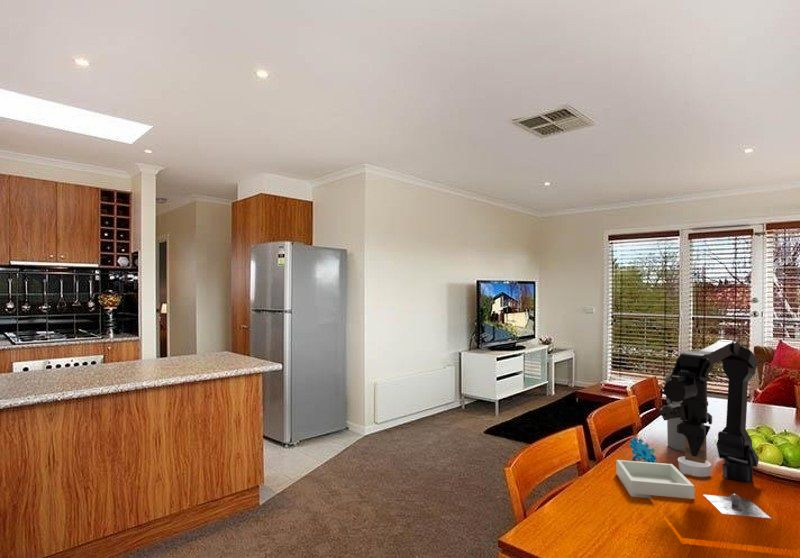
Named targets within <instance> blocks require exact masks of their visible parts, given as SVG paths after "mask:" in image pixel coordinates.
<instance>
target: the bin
mask: <svg viewBox="0 0 800 558" xmlns="http://www.w3.org/2000/svg"><path fill="white" fill-rule="evenodd" d="M616 475H617V477H618V479H619V480H620V482H621V484H622V485H623V486H624V488H625V490H627V492H628V494H629V496H630V497H631V498H639V499H640V498H643V499H652V500H654V498H653V496H654V497H655V496H657V497H669V498H679V499H680V498H681V499H688V500H689V499H690V500H695V485H694V484H693V483H692V482H691V481H690V480H689V479H688V478H687V477H686V476H685V474H682V473H681V472H680V471H679V468H677V467H676V466H675V465H674V464H673V463H663V462H662V463H661V462H657V463H652V462H648V461H647V462H643V461H639V460H624V459H623V460H622V459H616Z"/></svg>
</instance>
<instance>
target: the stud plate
mask: <svg viewBox="0 0 800 558" xmlns="http://www.w3.org/2000/svg"><path fill="white" fill-rule="evenodd" d="M703 496H704V497H705V499H707V501H709V503H711V504H712V505H713V506H714V507H715V508H716V509H717V510H718V511H719V512H720V513H721V515H732V516H741V517H751V518H761V519H763V518H764V519H771V516H769V515H768V514H767V513H766V512H764V510H762V508H760V507H759V506H758V505H756V504H755V503H754V502H753V501H751V499H749V498H745V497H741V496H739V494H736V493H731V494H730V495H729V496H724V495H723V496H722V495H713V494H712V495H711V494H703Z"/></svg>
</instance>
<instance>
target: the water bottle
mask: <svg viewBox="0 0 800 558" xmlns="http://www.w3.org/2000/svg"><path fill="white" fill-rule="evenodd" d="M672 372H673V371H670V372H669V373H668V374H666V375H665V378H664V383H665V384H666V383H667V382H668V381H671V376H672ZM665 400H666V403H667V405H675V404H680V403H681V401H680V402H673V401H671V400H669V399H668V398H667V397H666V396H665ZM666 421H667V422H666V423H667V425H666V426H667V430H666V432H667V435H666V436H667V445H668V447H669V448H670V449H673V450H675V451H679V452H684V453H685V435H683V434H680V433H677V425H678V424H679V423H680V422H681V421H682V420H680V417H679V418H673V419H669V420H666ZM685 421H686V420H685Z"/></svg>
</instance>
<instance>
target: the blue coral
mask: <svg viewBox="0 0 800 558" xmlns="http://www.w3.org/2000/svg"><path fill="white" fill-rule="evenodd" d="M643 443H644V440H643V439H642V438H639V439H638V438H637V437H632V438H631V439H630V440H629V448H631V449H632V450H631V453H632V455H633V456H632V457H631V459H632V461H636V460H637V461H639V462H641V460H642V459H643V461H642V462H652V463H658V462H657V458H658V457H657V456H656V455H654V454H655V451H656V449H655V448H654V447H652V448H649V447H650V445H649V443H648V442H646V443H644V444H643Z"/></svg>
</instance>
